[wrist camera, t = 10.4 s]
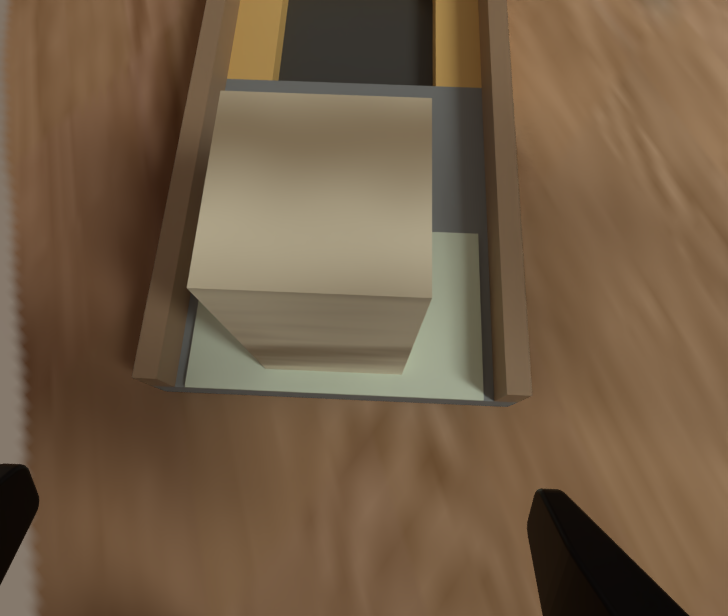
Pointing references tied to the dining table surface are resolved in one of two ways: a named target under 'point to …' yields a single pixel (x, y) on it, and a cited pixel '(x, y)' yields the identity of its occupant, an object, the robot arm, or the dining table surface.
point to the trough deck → (449, 193)
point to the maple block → (318, 228)
